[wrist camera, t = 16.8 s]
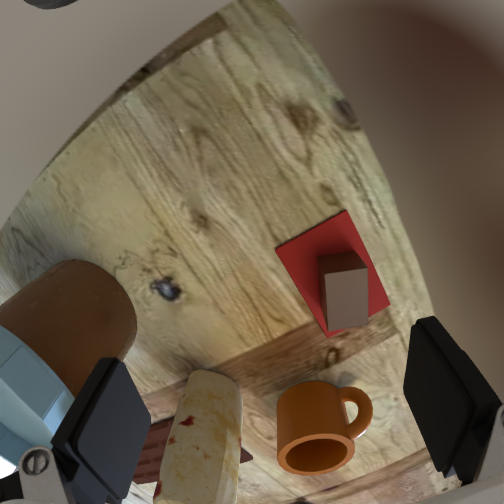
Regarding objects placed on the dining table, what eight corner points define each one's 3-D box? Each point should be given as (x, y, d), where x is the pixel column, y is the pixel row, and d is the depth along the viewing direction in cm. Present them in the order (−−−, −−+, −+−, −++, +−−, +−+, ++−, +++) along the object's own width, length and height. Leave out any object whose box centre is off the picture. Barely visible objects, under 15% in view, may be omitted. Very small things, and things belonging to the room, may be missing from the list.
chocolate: (316, 256, 32) (323, 273, 27) (355, 250, 31) (368, 267, 27) (321, 308, 34) (327, 331, 29) (357, 303, 33) (368, 325, 29)
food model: (175, 370, 38) (127, 507, 19) (221, 354, 36) (190, 506, 18) (214, 418, 40) (192, 545, 22) (258, 406, 39) (251, 543, 20)
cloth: (274, 249, 32) (274, 250, 32) (345, 209, 30) (346, 210, 30) (327, 336, 35) (327, 338, 35) (389, 303, 34) (390, 304, 33)
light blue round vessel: (21, 259, 34) (-87, 335, 15) (122, 240, 32) (-2, 344, 13) (64, 363, 39) (-5, 460, 20) (162, 364, 38) (108, 499, 19)
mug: (370, 406, 39) (385, 455, 30) (288, 431, 41) (291, 481, 32) (358, 362, 36) (377, 414, 28) (266, 391, 38) (265, 446, 30)
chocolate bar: (197, 408, 40) (196, 414, 39) (253, 456, 43) (252, 461, 42) (88, 443, 45) (86, 447, 44) (139, 482, 49) (137, 485, 48)
